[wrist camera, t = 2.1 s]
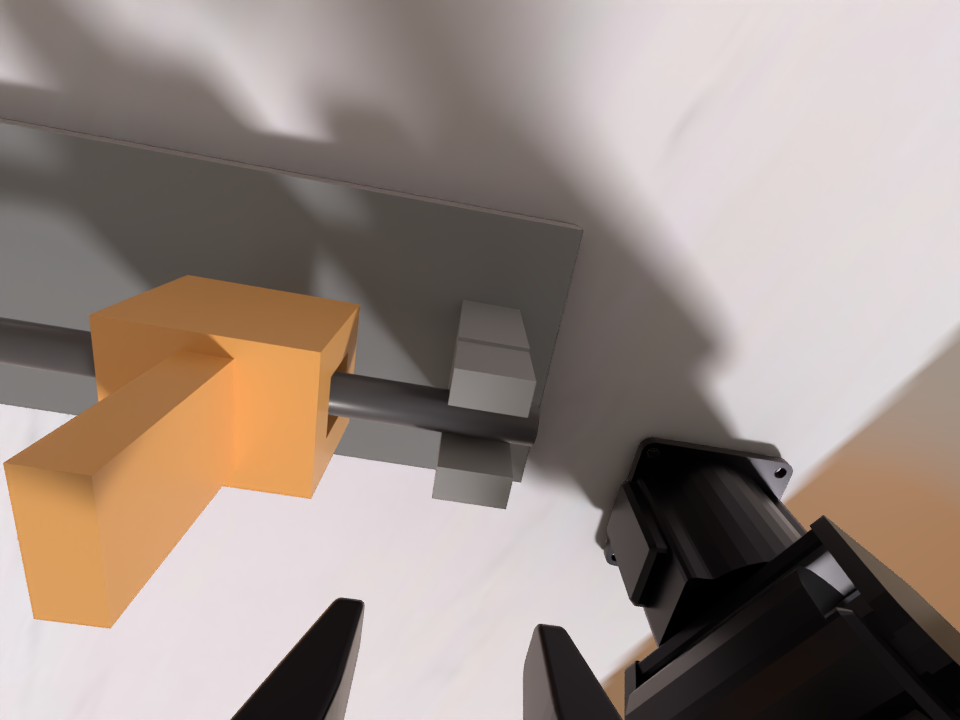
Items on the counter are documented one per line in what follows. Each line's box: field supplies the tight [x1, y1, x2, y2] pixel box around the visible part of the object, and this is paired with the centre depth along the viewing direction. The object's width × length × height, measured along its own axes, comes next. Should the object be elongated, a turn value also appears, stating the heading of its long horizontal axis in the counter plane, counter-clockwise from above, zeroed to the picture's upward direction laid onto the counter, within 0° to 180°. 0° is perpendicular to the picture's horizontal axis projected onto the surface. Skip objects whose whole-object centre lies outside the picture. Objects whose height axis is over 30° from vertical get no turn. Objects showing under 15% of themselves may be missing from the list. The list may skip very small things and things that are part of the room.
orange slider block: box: [3, 275, 360, 628], centre depth 12 cm, size 5×4×8 cm
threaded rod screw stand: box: [0, 118, 583, 509], centre depth 15 cm, size 29×10×8 cm, turn 80°
